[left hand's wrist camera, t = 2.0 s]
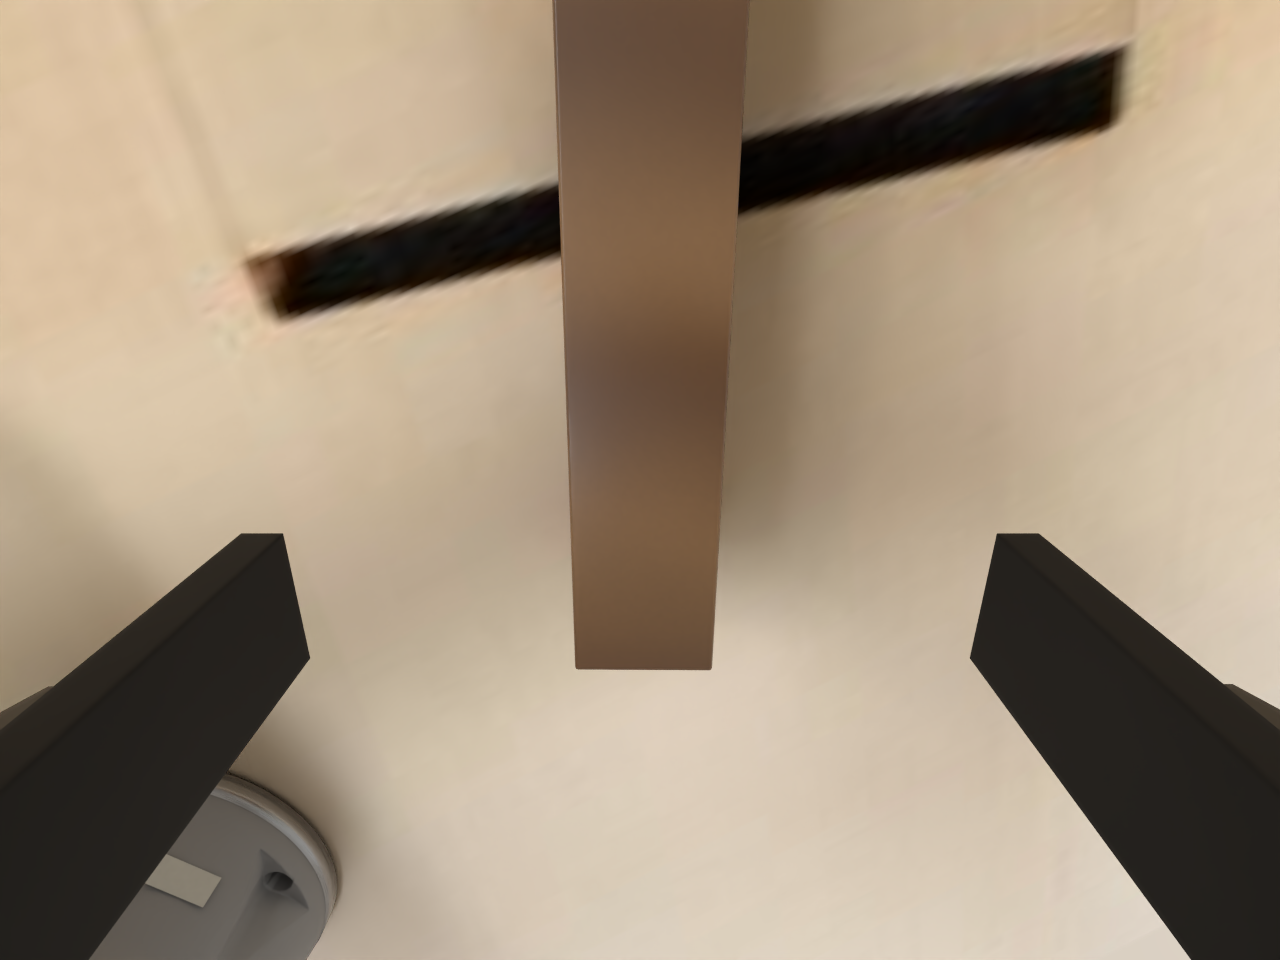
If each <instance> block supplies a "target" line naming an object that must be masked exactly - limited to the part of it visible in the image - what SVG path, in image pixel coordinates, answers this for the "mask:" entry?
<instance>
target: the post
mask: <svg viewBox="0 0 1280 960" xmlns="http://www.w3.org/2000/svg"><path fill="white" fill-rule="evenodd" d="M552 2H553V31H554V60H555V90H556V119H557V148H558V177H559V206H560V235H561V264H562V293H563V323H564V352H565V381H566V410H567V439H568V468H569V497H570V526H571V556H572V585H573V614H574V643H575V667H576V669H609V670H711V668H712V657H713V639H714V622H715V604H716V586H717V568H718V551H719V533H720V515H721V498H722V480H723V462H724V445H725V427H726V409H727V392H728V374H729V356H730V339H731V321H732V303H733V285H734V268H735V250H736V232H737V215H738V197H739V179H740V162H741V144H742V126H743V109H744V91H745V73H746V56H747V38H748V20H749V2H750V0H552Z"/></svg>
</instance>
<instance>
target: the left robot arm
mask: <svg viewBox="0 0 1280 960" xmlns="http://www.w3.org/2000/svg"><path fill="white" fill-rule="evenodd" d="M309 659H310V655H309V651H308V646H307V642H306V637H305V632H304V628H303V623H302V619H301V614H300V609H299V605H298V600H297V596H296V591H295V586H294V582H293V577H292V573H291V568H290V564H289V559H288V554H287V550H286V545H285V541H284V536H283V534H240V535H239V536H238V537H236V538H235V539H234V540H233V541H232V542H230V543H229V544H228V545H227V546H225V547H224V548H223V549H222V550H221V551H219V552H218V553H217V554H216V555H214V556H213V557H212V558H211V559H209V560H208V561H207V562H206V563H205V564H203V565H202V566H201V567H200V568H198V569H197V570H196V571H195V572H194V573H192V574H191V575H190V576H189V577H187V578H186V579H185V580H184V581H182V582H181V583H180V584H179V585H178V586H176V587H175V588H174V589H173V590H171V591H170V592H169V593H168V594H167V595H165V596H164V597H163V598H162V599H160V600H159V601H158V602H157V603H155V604H154V605H153V606H152V607H151V608H149V609H148V610H147V611H146V612H144V613H143V614H142V615H141V616H140V617H138V618H137V619H136V620H135V621H133V622H132V623H131V624H130V625H128V626H127V627H126V628H125V629H124V630H122V631H121V632H120V633H119V634H117V635H116V636H115V637H114V638H113V639H111V640H110V641H109V642H108V643H106V644H105V645H104V646H103V647H101V648H100V649H99V650H98V651H97V652H95V653H94V654H93V655H92V656H90V657H89V658H88V659H87V660H86V661H84V662H83V663H82V664H81V665H79V666H78V667H77V668H76V669H75V670H73V671H72V672H71V673H70V674H68V675H67V676H66V677H65V678H63V679H62V680H61V681H60V682H59V683H57V684H56V685H55V686H54V687H47V688H45V689H43V690H41V691H39V692H37V693H36V694H34V695H32V696H30V697H28V698H26V699H24V700H23V701H21V702H19V703H17V704H15V705H13V706H12V707H10V708H8V709H6V710H4V711H2V712H1V713H0V960H306V959H307V958H308V956H309V955H310V953H311V951H312V950H313V948H314V946H315V945H316V943H317V942H318V940H319V938H320V936H321V934H322V932H323V930H324V928H325V926H326V923H327V921H328V919H329V916H330V914H331V912H332V910H333V907H334V903H335V900H336V894H337V879H336V872H335V868H334V864H333V861H332V859H331V856H330V854H329V852H328V850H327V848H326V846H325V844H324V843H323V841H322V840H321V838H320V837H319V835H318V834H317V833H316V832H315V830H314V829H313V828H312V827H311V826H310V824H309V823H308V822H307V821H306V820H305V819H304V818H303V817H302V816H301V815H299V814H298V813H297V812H296V811H295V810H294V809H292V808H291V807H290V806H289V805H287V804H286V803H284V802H283V801H282V800H280V799H279V798H277V797H276V796H274V795H272V794H271V793H269V792H267V791H266V790H264V789H262V788H260V787H258V786H256V785H254V784H252V783H250V782H247V781H245V780H243V779H240V778H238V777H235V776H232V775H229V774H226V772H227V771H228V769H229V768H230V767H231V765H232V764H233V763H234V761H235V760H236V758H237V757H238V756H239V754H240V753H241V752H242V750H243V749H244V748H245V746H246V745H247V743H248V742H249V741H250V739H251V738H252V737H253V735H254V734H255V733H256V731H257V730H258V728H259V727H260V726H261V724H262V723H263V722H264V720H265V719H266V718H267V716H268V715H269V713H270V712H271V711H272V709H273V708H274V707H275V705H276V704H277V703H278V701H279V700H280V698H281V697H282V696H283V694H284V693H285V692H286V690H287V689H288V688H289V686H290V685H291V684H292V682H293V681H294V679H295V678H296V677H297V675H298V674H299V673H300V671H301V670H302V669H303V667H304V666H305V664H306V663H307V662H308V660H309ZM970 659H971V660H972V662H973V663H974V664H975V666H976V667H977V669H978V670H979V671H980V673H981V674H982V675H983V677H984V678H985V679H986V681H987V682H988V684H989V685H990V686H991V688H992V689H993V690H994V692H995V693H996V694H997V696H998V697H999V698H1000V700H1001V701H1002V703H1003V704H1004V705H1005V707H1006V708H1007V709H1008V711H1009V712H1010V713H1011V715H1012V716H1013V718H1014V719H1015V720H1016V722H1017V723H1018V724H1019V726H1020V727H1021V728H1022V730H1023V731H1024V733H1025V734H1026V735H1027V737H1028V738H1029V739H1030V741H1031V742H1032V743H1033V745H1034V746H1035V748H1036V749H1037V750H1038V752H1039V753H1040V754H1041V756H1042V757H1043V758H1044V760H1045V761H1046V763H1047V764H1048V765H1049V767H1050V768H1051V769H1052V771H1053V772H1054V773H1055V775H1056V776H1057V778H1058V779H1059V780H1060V782H1061V783H1062V784H1063V786H1064V787H1065V788H1066V790H1067V791H1068V793H1069V794H1070V795H1071V797H1072V798H1073V799H1074V801H1075V802H1076V803H1077V805H1078V806H1079V808H1080V809H1081V810H1082V812H1083V813H1084V814H1085V816H1086V817H1087V818H1088V820H1089V821H1090V823H1091V824H1092V825H1093V827H1094V828H1095V829H1096V831H1097V832H1098V833H1099V835H1100V836H1101V837H1102V839H1103V840H1104V842H1105V843H1106V844H1107V846H1108V847H1109V848H1110V850H1111V851H1112V852H1113V854H1114V855H1115V857H1116V858H1117V859H1118V861H1119V862H1120V863H1121V865H1122V866H1123V867H1124V869H1125V870H1126V872H1127V873H1128V874H1129V876H1130V877H1131V878H1132V880H1133V881H1134V882H1135V884H1136V885H1137V887H1138V888H1139V889H1140V891H1141V892H1142V893H1143V895H1144V896H1145V897H1146V899H1147V900H1148V902H1149V903H1150V904H1151V906H1152V907H1153V908H1154V910H1155V911H1156V912H1157V914H1158V915H1159V917H1160V918H1161V919H1162V921H1163V922H1164V923H1165V925H1166V926H1167V927H1168V929H1169V930H1170V931H1171V933H1172V934H1173V936H1174V937H1175V938H1176V940H1177V941H1178V942H1179V944H1180V945H1181V946H1182V948H1183V949H1184V950H1185V952H1186V953H1187V955H1188V956H1189V957H1190V959H1191V960H1280V710H1279V709H1278V708H1276V707H1274V706H1272V705H1270V704H1268V703H1267V702H1265V701H1263V700H1261V699H1259V698H1257V697H1255V696H1254V695H1252V694H1250V693H1248V692H1246V691H1244V690H1242V689H1241V688H1239V687H1237V686H1235V685H1233V684H1223V683H1221V682H1220V681H1219V680H1218V679H1217V678H1215V677H1214V676H1213V675H1212V674H1210V673H1209V672H1208V671H1207V670H1205V669H1204V668H1203V667H1202V666H1201V665H1199V664H1198V663H1197V662H1196V661H1194V660H1193V659H1192V658H1191V657H1190V656H1188V655H1187V654H1186V653H1185V652H1183V651H1182V650H1181V649H1180V648H1179V647H1177V646H1176V645H1175V644H1174V643H1172V642H1171V641H1170V640H1169V639H1167V638H1166V637H1165V636H1164V635H1163V634H1161V633H1160V632H1159V631H1158V630H1156V629H1155V628H1154V627H1153V626H1152V625H1150V624H1149V623H1148V622H1147V621H1145V620H1144V619H1143V618H1142V617H1140V616H1139V615H1138V614H1137V613H1136V612H1134V611H1133V610H1132V609H1131V608H1129V607H1128V606H1127V605H1126V604H1125V603H1123V602H1122V601H1121V600H1120V599H1118V598H1117V597H1116V596H1115V595H1113V594H1112V593H1111V592H1110V591H1109V590H1107V589H1106V588H1105V587H1104V586H1102V585H1101V584H1100V583H1099V582H1098V581H1096V580H1095V579H1094V578H1093V577H1091V576H1090V575H1089V574H1088V573H1086V572H1085V571H1084V570H1083V569H1082V568H1080V567H1079V566H1078V565H1077V564H1075V563H1074V562H1073V561H1072V560H1071V559H1069V558H1068V557H1067V556H1066V555H1064V554H1063V553H1062V552H1061V551H1059V550H1058V549H1057V548H1056V547H1055V546H1053V545H1052V544H1051V543H1050V542H1048V541H1047V540H1046V539H1045V538H1044V537H1042V536H1041V535H1040V534H997V536H996V541H995V545H994V550H993V554H992V559H991V564H990V568H989V573H988V577H987V582H986V586H985V591H984V596H983V600H982V605H981V609H980V614H979V619H978V623H977V628H976V632H975V637H974V642H973V646H972V651H971V655H970Z"/></svg>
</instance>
